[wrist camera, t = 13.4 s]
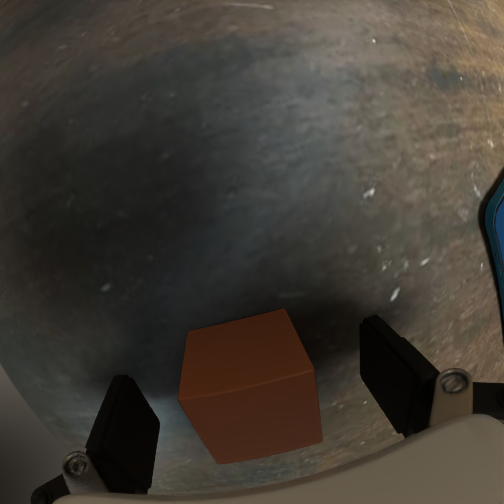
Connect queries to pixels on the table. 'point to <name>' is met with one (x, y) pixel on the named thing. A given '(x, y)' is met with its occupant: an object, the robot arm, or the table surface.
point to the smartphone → (497, 234)
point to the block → (250, 388)
